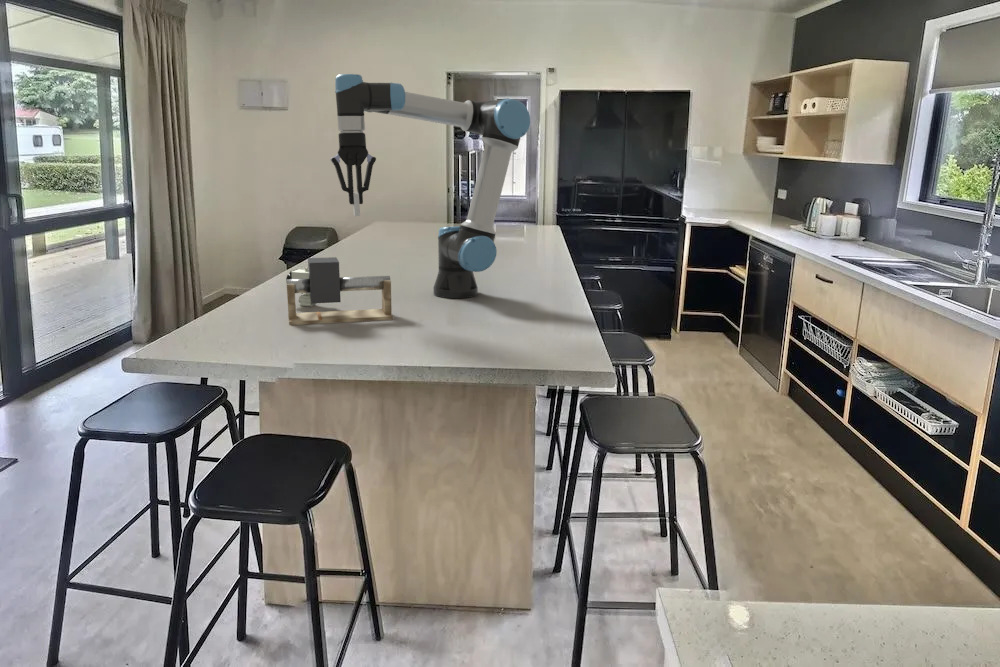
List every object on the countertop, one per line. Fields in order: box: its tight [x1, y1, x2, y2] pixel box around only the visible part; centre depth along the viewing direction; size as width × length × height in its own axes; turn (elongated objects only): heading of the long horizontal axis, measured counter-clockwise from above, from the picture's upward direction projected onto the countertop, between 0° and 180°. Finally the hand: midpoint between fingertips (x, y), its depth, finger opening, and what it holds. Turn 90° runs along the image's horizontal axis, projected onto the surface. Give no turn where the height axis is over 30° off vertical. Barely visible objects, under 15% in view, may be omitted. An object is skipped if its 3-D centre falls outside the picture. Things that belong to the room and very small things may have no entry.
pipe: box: [285, 275, 391, 294], centre depth 205 cm, size 29×4×4 cm, turn 107°
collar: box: [307, 256, 342, 304], centre depth 204 cm, size 8×9×12 cm
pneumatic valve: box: [285, 267, 318, 308], centre depth 222 cm, size 6×12×12 cm, turn 78°
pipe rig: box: [285, 279, 394, 326], centre depth 207 cm, size 29×10×11 cm, turn 107°
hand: (356, 215), depth 209 cm, fingers closed
